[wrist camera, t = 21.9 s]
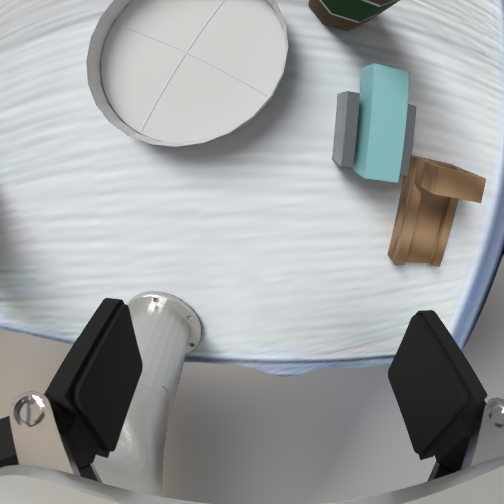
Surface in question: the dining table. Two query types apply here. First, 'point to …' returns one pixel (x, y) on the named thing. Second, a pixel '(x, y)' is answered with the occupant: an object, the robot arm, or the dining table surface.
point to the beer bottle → (348, 11)
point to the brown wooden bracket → (430, 209)
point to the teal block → (381, 122)
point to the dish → (186, 66)
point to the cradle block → (348, 131)
